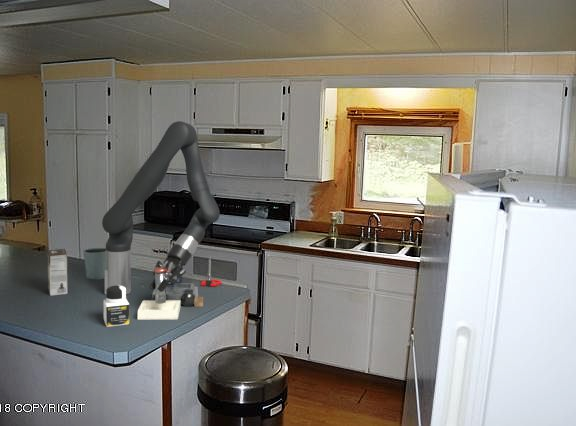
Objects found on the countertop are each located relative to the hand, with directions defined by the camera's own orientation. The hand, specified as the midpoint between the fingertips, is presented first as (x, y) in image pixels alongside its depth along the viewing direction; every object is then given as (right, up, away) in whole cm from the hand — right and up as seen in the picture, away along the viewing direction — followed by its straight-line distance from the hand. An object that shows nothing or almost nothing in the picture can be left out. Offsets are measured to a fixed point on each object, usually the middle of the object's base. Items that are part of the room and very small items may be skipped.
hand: (155, 289), depth 168 cm
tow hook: (+12, -5, +43) cm, 45 cm away
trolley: (+3, -7, +17) cm, 18 cm away
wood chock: (+12, -8, +13) cm, 20 cm away
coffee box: (-44, -5, +23) cm, 50 cm away
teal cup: (-38, -2, +46) cm, 60 cm away
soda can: (-3, -4, +39) cm, 40 cm away
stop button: (+1, -5, +2) cm, 5 cm away
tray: (+1, -9, +3) cm, 9 cm away
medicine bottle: (-11, -10, -7) cm, 17 cm away
